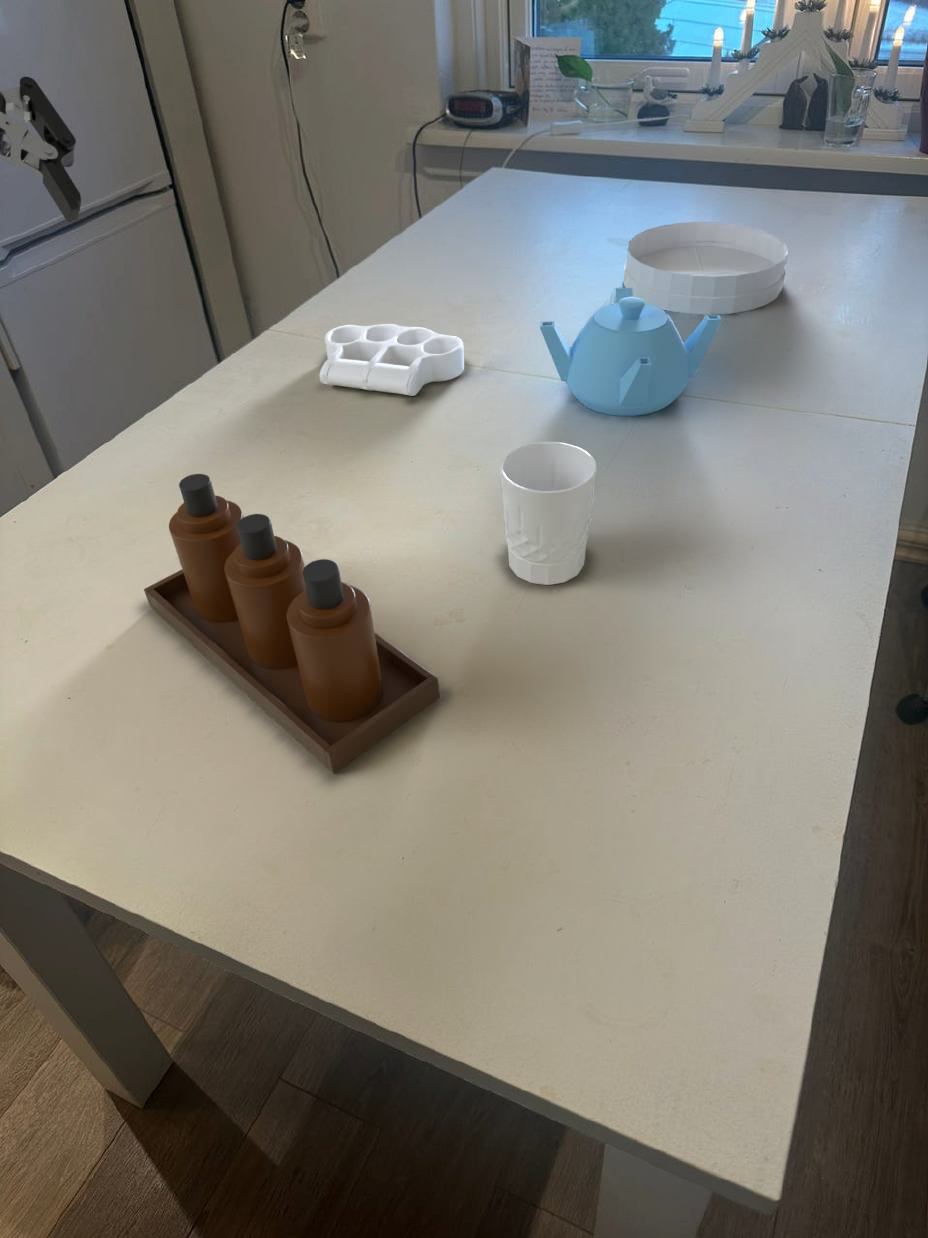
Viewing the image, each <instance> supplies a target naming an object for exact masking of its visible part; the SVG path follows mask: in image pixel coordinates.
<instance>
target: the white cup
mask: <svg viewBox="0 0 928 1238" xmlns="http://www.w3.org/2000/svg"><path fill="white" fill-rule="evenodd" d="M597 467H598V466H597V462H596V460H595V459H594V457H593V456H592V455H591V454H590V453H589V452H588V451H586V450H584V449H583V448H581V447H579V446H576V445H573V444H571V443H565V442H560V441H537V442H532V443H527V444H524V445H521V446H518V447H516V448H514V449H512V450H510V451H509V452H508V453H507V454H506V455H505V456H504V457H503V458H502V459H501V462H500V465H499V471H500V472H499V473H500V487H501V497H502V498H501V499H502V515H503V524H504V525H503V526H504V533H505V539H506V542H507V552H508V554H507V555H508V566H509V569H511V570H512V572H513V573H514V574H515V576H516V577H517V578H520V579H522V580H524V581H526V582H527V583H530V584H535V585H544V586H551V585H557V584H562V583H566V582H568V581H569V580H572V579H573V578H575V577H577V576H578V575H579V574H580V573H581V571H582V569H583V567H584V565H585V560H586V550H587V549H586V548H587V542H588V539H589V535H590V525H591V519H592V511H593V503H594V495H595V486H596V477H597V469H598V468H597Z"/></svg>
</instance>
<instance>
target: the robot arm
mask: <svg viewBox="0 0 928 1238" xmlns="http://www.w3.org/2000/svg"><path fill="white" fill-rule="evenodd" d="M7 112H13V113H15V114H17V115H18V116H19V118H21V119H22V121H23V122H24V123H26V124H28V123H30V124H31V125H32V127H33V128H34V130H35V131H36V133H37V134H38V136H39V137H38V136H36V135H34V134H32V133H31V132H30V131H29V129H28V128H27V126H25V124H24V123H21V122H19V121H18V120H17V119H14V118H12V117H11V116H9V115H7ZM4 135H5V136H6V137H7V138H8V139H9V142H10V143H9V142H7V141H6V140H4ZM76 143H77V140H76V137H75V136H74V134H73V133H72V132H71V130H70V129H69V127H68V125H67V124H66V123H65V121H64V120H63V118H62V117H61V116H60V114H59V113H58V111H57V110H56V109H55V107H54V106H53V104H52V103H51V101H50V100H49V99H48V97H47V96H46V94H45V93H44V91H43V90H42V88H41V87H40V85H39V84H38V82H37V81H36V80H35V79H34V78H32V77H31V76H22V77H21V78H19V86H16V87H13V88H10V89H9V88H8V89H5V90H2V91H0V159H1V160H3V161H5V162H7V163H8V164H10V165H12V166H13V167H16V168H20V167H23V168H25V169H27V170H29V171H31V172H33V173H35V174H36V175H38V176H40V177H42V184H43V185H44V187H45V189H46V191H47V192H48V194H49V195H50V197H51V198H52V199H53V201H54V203H55V205H56V207H57V208H58V210H59V211H60V213H61V215H62V216H63V217H64V219H65V220H66V222H67V223H72V222H76V221H78V220H79V215H80V212H81V205H82V196H81V192H80V191H79V189H78V187H77V186H76V185H75V183H74V182H73V180H72V178H71V177H70V175H69V173H68V171H67V170H66V169H65V168H70V167H73V165H74V161H75V149H76V145H77V144H76Z"/></svg>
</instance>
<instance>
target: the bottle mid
mask: <svg viewBox="0 0 928 1238" xmlns="http://www.w3.org/2000/svg"><path fill="white" fill-rule="evenodd" d="M243 517H244V518H242V519H241V520H240V521H239V522H238V525H237V528H238V532H239V536H240V539H241V544H239V545H238V546H237V548H236V549H235V551H234V552H233V553H232V554H231V555H230V556H229V557H228V559H227V560H226V563H225V567H224V571H225V574H226V578H227V581H228V585H229V588H230V591H231V595H232V598H233V602H234V605H235V609H236V612H237V616H238V619H239V622H240V626H241V629H242V633H243V636H244V640H245V643H246V647H247V650H248V654H249V656H250V658H251V659H252V660H253V661H254V662H255V663H256V664H258V665H260V666H262V667H265V668H269V669H285V668H290V667H294V666H296V665H298V663H297V659H296V654H295V650H294V646H293V642H292V638H291V634H290V630H289V625H288V621H287V611H288V608H289V606H290V604H291V602H292V601H293V600H294V599H295V598H296V597H297V596H298V595H300V594H301V593H302V592H303V591H304V590H305V589H306V586H305V582H304V577H303V569H304V568H305V566H306V565H305V561H304V557H303V553H302V551H301V549H300V548H299V547H298V546H297V545H296V544H295V543H293V542H291V541H289V540H287V539H286V540H285V539H283V538H282V537H280V536H277V535H275V534H274V529H273V525H272V520H271V518H270V517H269V516H267V515H266V514H262V513H253V514H248V515H246V516H243Z"/></svg>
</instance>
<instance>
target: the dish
mask: <svg viewBox="0 0 928 1238" xmlns="http://www.w3.org/2000/svg"><path fill="white" fill-rule="evenodd" d="M788 254H789V252H788V246H787V245H786V243H785V242H784V241H783V240H782V239H781V238H779V237H777V236H775V235H773V234H772V233H770V232H768V231H765V230H761V229H759V228H755V227H751V226H747V225H742V224H736V223H727V222H718V221H717V222H716V221H689V222H677V223H670V224H664V225H663V224H662V225H660V226H656V227H655V226H654V227H652V228H649V229H648V228H647V229H646V230H644V231H642V232H640V233H638V234H635V235H634V236H633V237H632V238H631V239H630V240H629V241H628V244H627V248H626V261H625V264H624V268H623V270H624V271H623V287H624V288H632V292H633V297H637V298H641V299H643V300H644V301H645V304H650V305H653V306H656V307H659V308H661V309H662V310H664V311H668V312H674V313H681V314H687V315H704V316H705V315H731V314H736V313H741V312H747V311H752V310H756V309H758V308H761V307H764V306H767V305H768V304H770V303H772V302H773V301H774V300H777V298H778V297H779V296H780V294H781V292H782V291H783V286H784V281H785V276H786V264H787V259H788Z"/></svg>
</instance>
